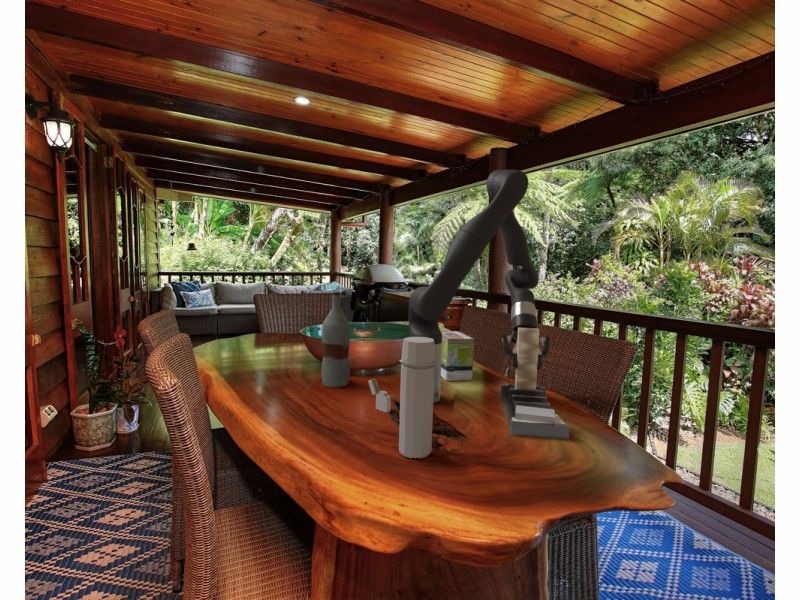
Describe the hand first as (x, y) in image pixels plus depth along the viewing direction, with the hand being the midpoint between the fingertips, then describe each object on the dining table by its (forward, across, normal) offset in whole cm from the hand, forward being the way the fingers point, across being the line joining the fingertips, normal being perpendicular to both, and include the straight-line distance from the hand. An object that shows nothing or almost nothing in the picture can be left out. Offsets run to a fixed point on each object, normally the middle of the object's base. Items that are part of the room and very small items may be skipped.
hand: (527, 367), depth 128 cm
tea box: (-13, -21, +30) cm, 39 cm away
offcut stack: (+21, 0, -7) cm, 22 cm away
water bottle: (+32, -28, -16) cm, 45 cm away
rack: (+15, 0, +2) cm, 15 cm away
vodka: (+1, -59, +16) cm, 61 cm away
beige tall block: (+5, 0, +8) cm, 9 cm away
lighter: (+15, -40, +2) cm, 43 cm away
